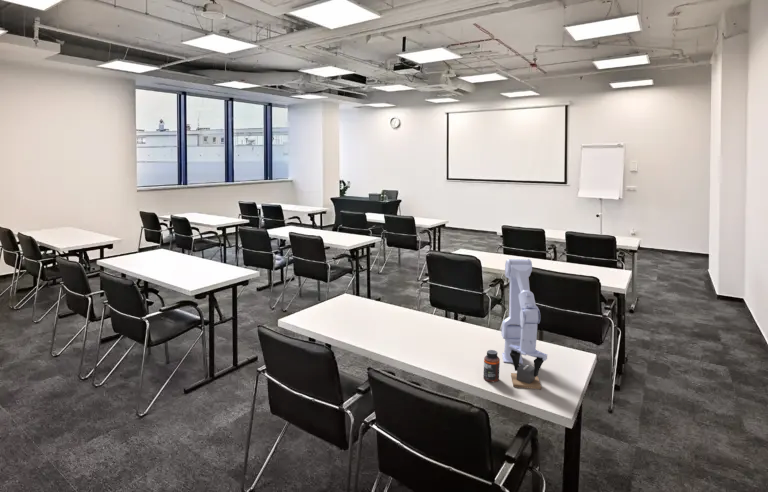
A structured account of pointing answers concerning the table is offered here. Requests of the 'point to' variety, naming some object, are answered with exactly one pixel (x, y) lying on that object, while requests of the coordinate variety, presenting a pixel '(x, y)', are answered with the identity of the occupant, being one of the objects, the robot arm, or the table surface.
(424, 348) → the table surface
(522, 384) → the block
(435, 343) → the table surface
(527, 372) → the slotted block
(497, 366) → the supplement bottle
